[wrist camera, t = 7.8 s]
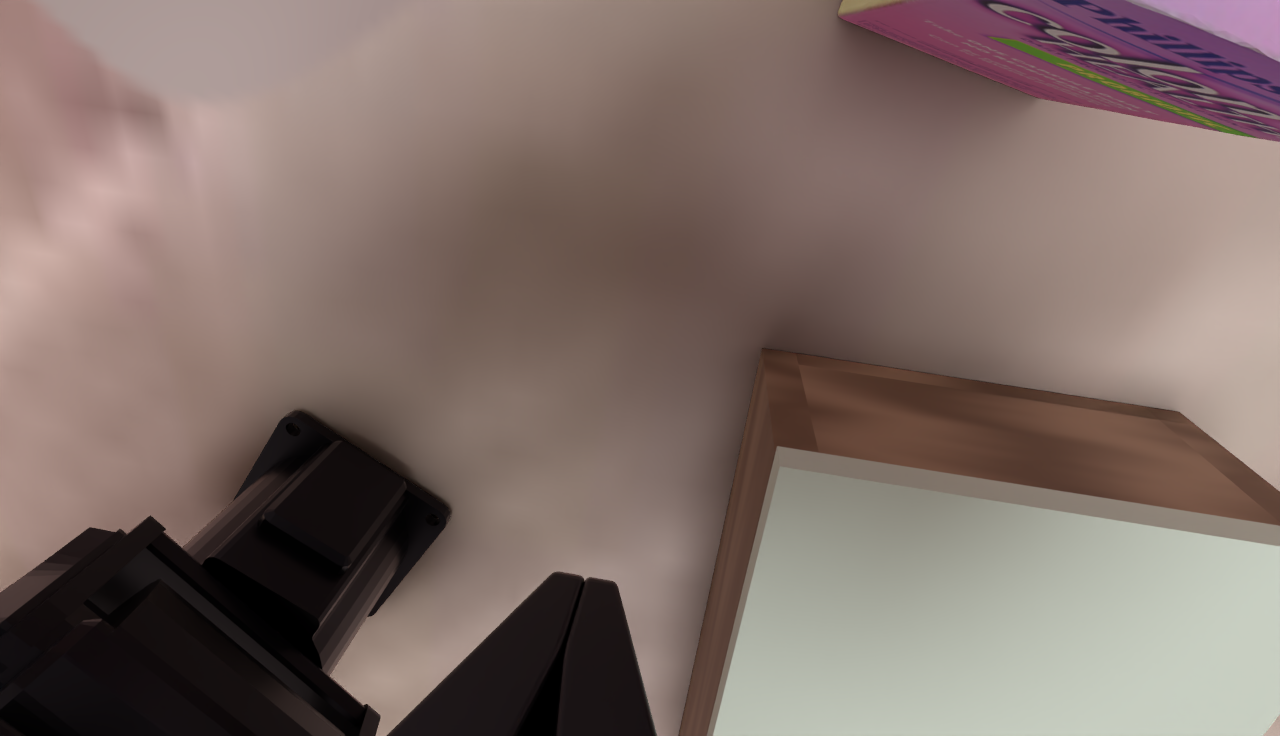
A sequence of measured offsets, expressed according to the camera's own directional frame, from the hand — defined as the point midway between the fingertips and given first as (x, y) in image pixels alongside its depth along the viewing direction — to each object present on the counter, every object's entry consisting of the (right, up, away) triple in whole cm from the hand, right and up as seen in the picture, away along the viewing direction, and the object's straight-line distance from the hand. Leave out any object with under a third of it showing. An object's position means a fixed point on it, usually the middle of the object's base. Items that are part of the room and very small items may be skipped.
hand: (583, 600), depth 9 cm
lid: (+9, -8, +9) cm, 15 cm away
